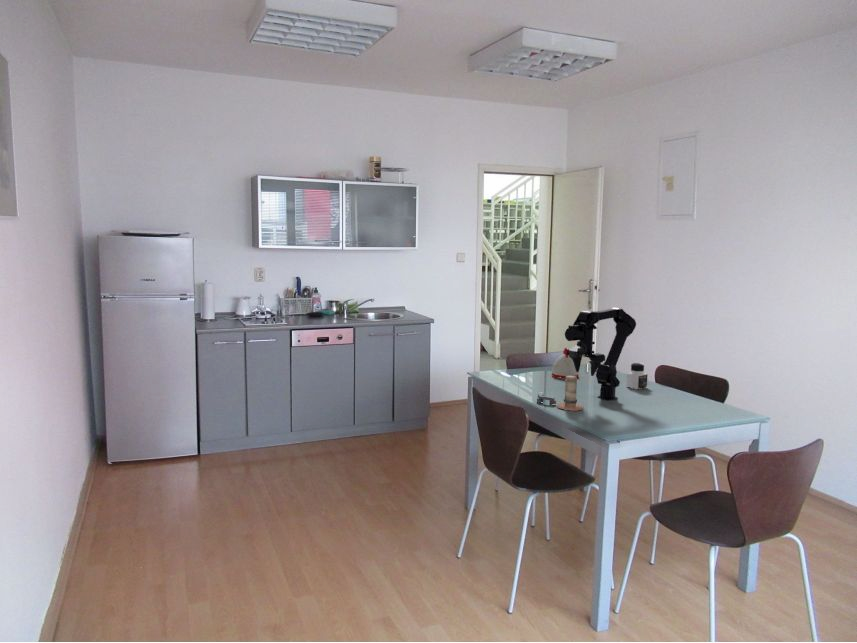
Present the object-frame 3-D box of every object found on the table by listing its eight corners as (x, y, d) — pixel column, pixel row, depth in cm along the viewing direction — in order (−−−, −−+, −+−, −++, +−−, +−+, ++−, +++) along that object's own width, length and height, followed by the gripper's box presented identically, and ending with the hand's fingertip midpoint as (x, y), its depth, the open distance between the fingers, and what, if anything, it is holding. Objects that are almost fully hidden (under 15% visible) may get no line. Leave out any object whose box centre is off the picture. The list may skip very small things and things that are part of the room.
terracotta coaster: (570, 403, 285) (570, 401, 285) (588, 408, 276) (588, 407, 276) (551, 406, 280) (551, 405, 280) (569, 412, 270) (569, 411, 270)
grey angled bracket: (541, 398, 294) (541, 391, 293) (560, 404, 283) (560, 397, 283) (529, 399, 290) (529, 393, 290) (548, 406, 279) (548, 399, 279)
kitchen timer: (554, 379, 333) (555, 350, 331) (549, 373, 347) (549, 346, 345) (581, 378, 334) (582, 350, 332) (574, 373, 347) (575, 346, 345)
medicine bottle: (638, 390, 310) (639, 365, 309) (625, 387, 316) (627, 363, 315) (647, 388, 315) (648, 364, 313) (634, 385, 320) (636, 361, 319)
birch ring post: (563, 404, 281) (564, 375, 279) (576, 405, 280) (577, 375, 278) (563, 407, 276) (564, 378, 274) (576, 408, 274) (578, 378, 273)
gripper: (558, 337, 287) (556, 371, 289) (588, 344, 271) (586, 380, 273) (576, 335, 293) (575, 369, 295) (606, 341, 277) (605, 377, 279)
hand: (584, 373), depth 285 cm, fingers open, 9 cm apart
